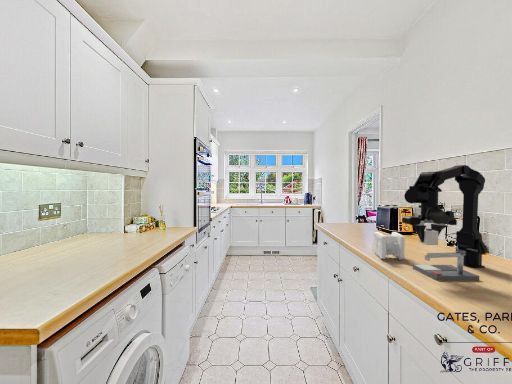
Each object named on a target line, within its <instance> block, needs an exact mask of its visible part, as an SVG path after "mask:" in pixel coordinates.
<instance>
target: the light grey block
mask: <svg viewBox="0 0 512 384" xmlns="http://www.w3.org/2000/svg"><path fill="white" fill-rule="evenodd" d="M418 238H419V237H418ZM418 243H420V244H422V245H425V246H439V236H438V231H434V230H432V229H431V228H425V229H424V242H421V240H420V238H419V239H418Z"/></svg>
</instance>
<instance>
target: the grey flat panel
mask: <svg viewBox="0 0 512 384" xmlns="http://www.w3.org/2000/svg"><path fill="white" fill-rule="evenodd" d="M412 269H413V270H415V271H416V272H419V273H421V274H423V275H424V276H426V277H429V278H430V279H433V280H435V281H480V276H479V275H478V274H475V273H472V272H470V271H467V270H465V269H463V274H458V273H457V266H454V265H452V264H412Z"/></svg>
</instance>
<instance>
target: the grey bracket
mask: <svg viewBox="0 0 512 384" xmlns="http://www.w3.org/2000/svg"><path fill="white" fill-rule="evenodd" d="M465 253H466V251H464V250H459V249H455V252H451V251H450V252H428V253H426V254H425V255H424V260H425V261H428V262H429V261H430V260H431V259H439V258H440V259H442V258H456V259H457V261H456V262H457V263H456V264H457V265H456V267H457V273H458V274H463V270H464V265H463V262H464V254H465Z"/></svg>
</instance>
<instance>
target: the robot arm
mask: <svg viewBox="0 0 512 384" xmlns="http://www.w3.org/2000/svg"><path fill="white" fill-rule="evenodd" d="M453 178H454V181H456V183H458V189H459V190H460V192H461V194H462V196H463V198H462V199H463V202H462V224H461V226H462V227H461V228H460V230H459V231H458V230H457V231H456V233H455V234H456V237H455V241H456V247H457V250H464V251H466V253H465V254H464V262H463V266H466V267H469V268H486V266H485V265H483V262H482V261H483V255H486V254H487V252H488V247H487V246H486V244H485V243H484V241H483V235H482V233H481V231H479V229H478V216H479V214H478V211H479V195H480V194H481V193H482V191H484V188H485V183H486V179H485V176H484V175H482V173H481V172H479V171H477V170H476V169H473V168H471V167H470V166H469V165H466V164H458V165H454V166H451V167H448V168H444V169H441V170H436V171H424V172H423V171H422V172H420V173H419V175H418V177H417V178H416V180H415V182H414V184H413V185H409V187H408V188H409V189H407V190H406V191H405V193H404V194H403V195H404V197H403V198H404V200H405V202H407V203H408V204H419V205H418V208H419V209H420V214H419V215H418V216H413V215H404V216H403V217H402V219H401V223H403V224H406V225H410V226H412V227H413V229H414V231H415V232H416V234H417V236H418V238H420V240H421V242H424V229H427V225H425V224H426V223H427V224H430V229H432V230H434V231H438V237H439V236H440V235H441V232H442V231H443V230H444V229H446V228H448V226H457V225H458V222H457V221H458V220H457V219H456V218H455V212H454V211H452V210H446V211H443V210H442V208H441V206H440V205H439V193H442V192H443V190H442V188H441V187H440V186H441V185H442V184H444V183H445V181H448V180H451V179H453Z"/></svg>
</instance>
